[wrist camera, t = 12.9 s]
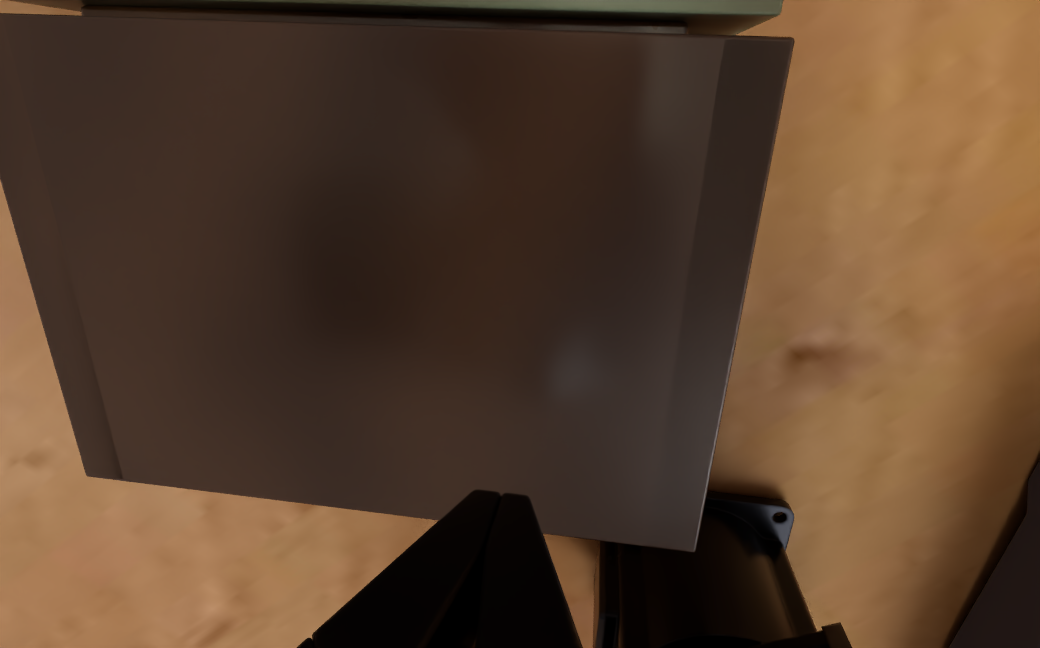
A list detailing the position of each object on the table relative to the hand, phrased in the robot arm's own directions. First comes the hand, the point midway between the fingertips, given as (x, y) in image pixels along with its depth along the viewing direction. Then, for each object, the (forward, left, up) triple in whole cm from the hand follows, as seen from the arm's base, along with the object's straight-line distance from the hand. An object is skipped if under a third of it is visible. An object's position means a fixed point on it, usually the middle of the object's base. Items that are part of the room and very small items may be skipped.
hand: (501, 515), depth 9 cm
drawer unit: (+3, -2, -12) cm, 13 cm away
